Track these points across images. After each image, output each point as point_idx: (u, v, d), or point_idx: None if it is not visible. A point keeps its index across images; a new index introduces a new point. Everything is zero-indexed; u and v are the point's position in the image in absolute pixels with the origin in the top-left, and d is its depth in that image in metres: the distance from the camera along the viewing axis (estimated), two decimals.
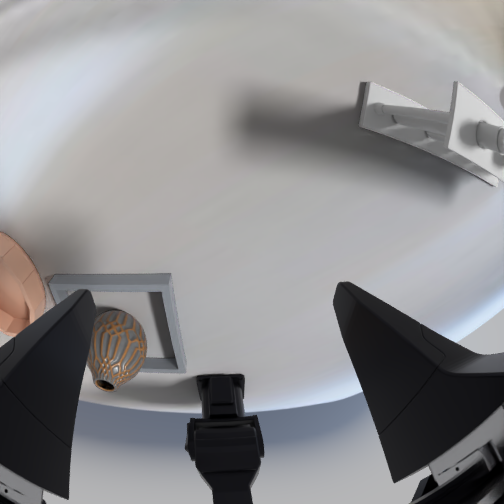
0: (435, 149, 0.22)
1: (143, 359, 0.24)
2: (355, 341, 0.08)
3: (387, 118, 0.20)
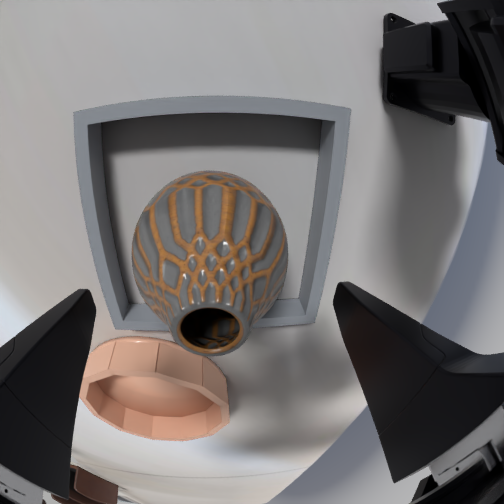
0: None
1: (223, 185, 0.10)
2: (355, 341, 0.08)
3: None
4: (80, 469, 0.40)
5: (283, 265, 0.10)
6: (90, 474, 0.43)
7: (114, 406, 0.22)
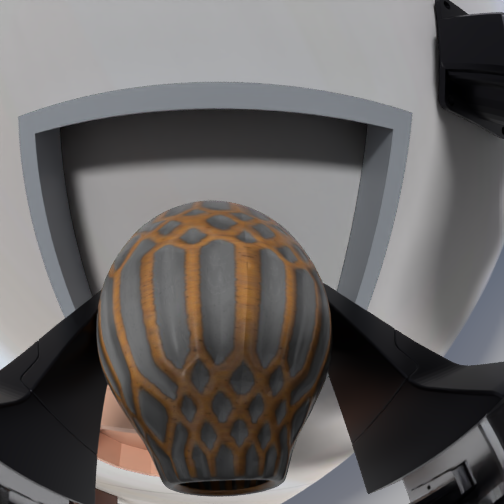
0: None
1: (235, 240, 0.06)
2: None
3: None
4: None
5: (329, 362, 0.06)
6: None
7: (109, 443, 0.18)
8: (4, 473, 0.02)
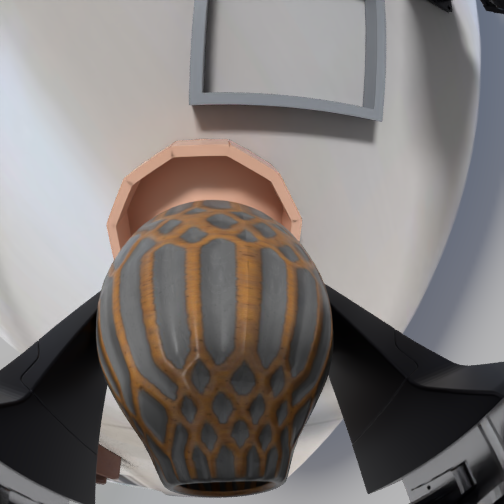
0: None
1: (236, 239, 0.06)
2: None
3: None
4: None
5: (330, 363, 0.06)
6: None
7: None
8: (4, 473, 0.02)
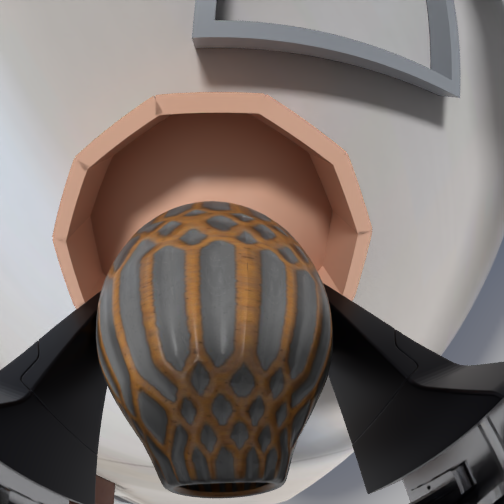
0: None
1: (236, 241, 0.06)
2: None
3: None
4: None
5: (330, 364, 0.06)
6: None
7: None
8: (4, 473, 0.02)
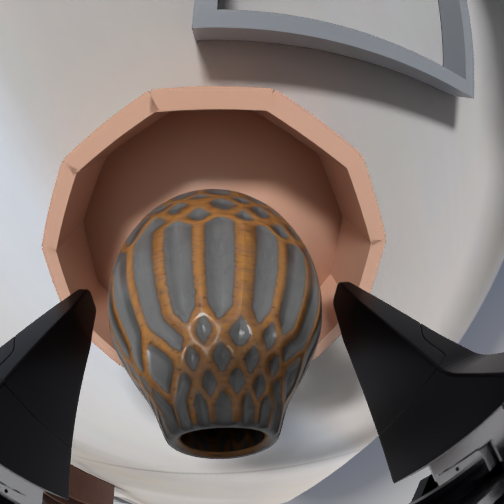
0: None
1: (235, 217, 0.07)
2: (355, 341, 0.08)
3: None
4: None
5: (319, 331, 0.07)
6: (77, 470, 0.33)
7: None
8: None
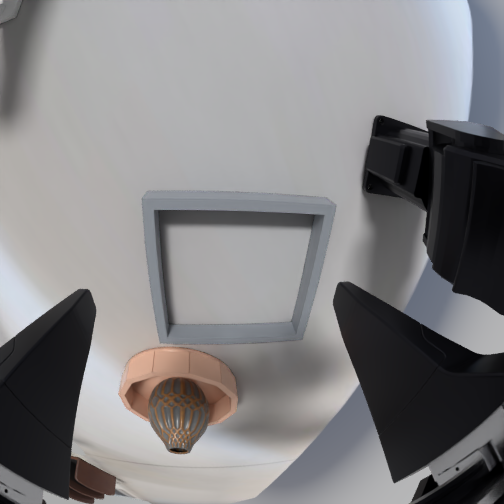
0: None
1: (180, 405, 0.23)
2: (355, 341, 0.08)
3: None
4: (81, 460, 0.46)
5: (204, 428, 0.24)
6: (90, 465, 0.48)
7: (141, 401, 0.29)
8: None
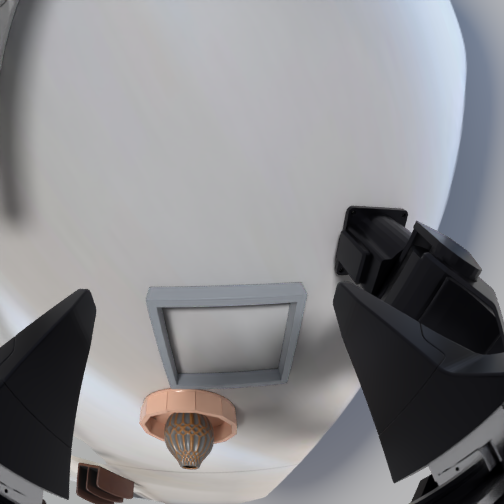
0: (3, 21, 0.07)
1: (190, 433, 0.28)
2: (355, 341, 0.08)
3: None
4: (101, 468, 0.52)
5: (209, 449, 0.28)
6: (110, 472, 0.54)
7: (158, 425, 0.33)
8: None
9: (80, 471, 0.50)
